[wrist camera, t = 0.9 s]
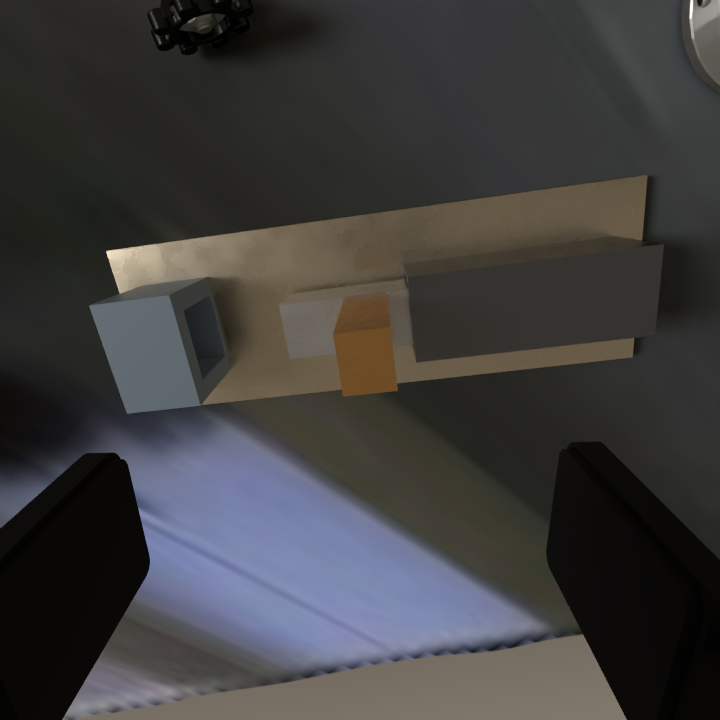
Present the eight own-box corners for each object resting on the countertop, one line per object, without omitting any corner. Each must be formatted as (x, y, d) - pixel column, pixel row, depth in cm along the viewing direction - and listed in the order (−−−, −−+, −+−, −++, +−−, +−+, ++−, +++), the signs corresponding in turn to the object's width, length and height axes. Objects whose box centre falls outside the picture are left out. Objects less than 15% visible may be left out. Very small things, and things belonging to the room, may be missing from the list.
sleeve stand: (639, 175, 33) (706, 170, 26) (626, 353, 37) (679, 386, 31) (113, 249, 36) (54, 261, 29) (162, 404, 40) (121, 445, 34)
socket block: (207, 276, 35) (168, 294, 29) (230, 369, 38) (200, 405, 31) (141, 285, 36) (89, 305, 29) (169, 376, 38) (127, 413, 32)
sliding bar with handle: (593, 254, 33) (707, 285, 21) (591, 307, 34) (697, 361, 23) (289, 293, 34) (248, 340, 23) (298, 342, 36) (263, 408, 25)
